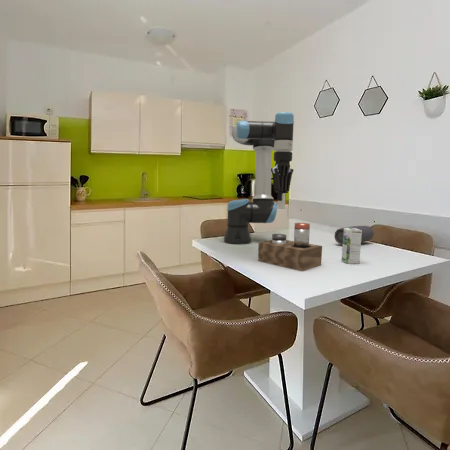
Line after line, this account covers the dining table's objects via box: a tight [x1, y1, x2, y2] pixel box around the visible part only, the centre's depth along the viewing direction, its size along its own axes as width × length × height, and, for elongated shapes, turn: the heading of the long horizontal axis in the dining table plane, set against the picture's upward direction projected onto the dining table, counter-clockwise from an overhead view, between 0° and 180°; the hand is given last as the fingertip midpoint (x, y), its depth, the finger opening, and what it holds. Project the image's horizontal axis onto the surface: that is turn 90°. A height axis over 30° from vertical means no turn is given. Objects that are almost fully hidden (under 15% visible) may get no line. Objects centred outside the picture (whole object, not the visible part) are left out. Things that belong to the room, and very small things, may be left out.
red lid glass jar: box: [293, 222, 311, 248], centre depth 139 cm, size 6×6×10 cm
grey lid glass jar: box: [271, 233, 287, 244], centre depth 148 cm, size 6×6×10 cm
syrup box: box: [341, 227, 362, 265], centre depth 147 cm, size 6×6×14 cm
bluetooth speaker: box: [333, 225, 374, 245], centre depth 188 cm, size 23×9×10 cm, turn 123°
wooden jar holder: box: [257, 239, 323, 272], centre depth 144 cm, size 22×14×8 cm, turn 45°
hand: (281, 208), depth 145 cm, fingers closed
